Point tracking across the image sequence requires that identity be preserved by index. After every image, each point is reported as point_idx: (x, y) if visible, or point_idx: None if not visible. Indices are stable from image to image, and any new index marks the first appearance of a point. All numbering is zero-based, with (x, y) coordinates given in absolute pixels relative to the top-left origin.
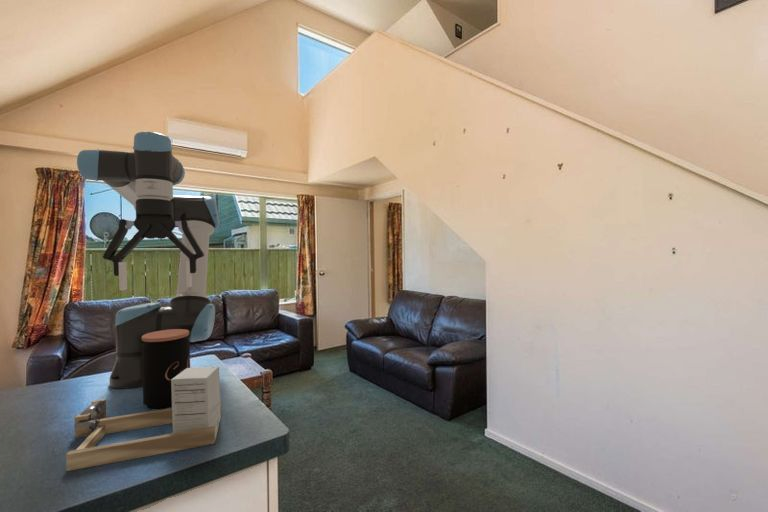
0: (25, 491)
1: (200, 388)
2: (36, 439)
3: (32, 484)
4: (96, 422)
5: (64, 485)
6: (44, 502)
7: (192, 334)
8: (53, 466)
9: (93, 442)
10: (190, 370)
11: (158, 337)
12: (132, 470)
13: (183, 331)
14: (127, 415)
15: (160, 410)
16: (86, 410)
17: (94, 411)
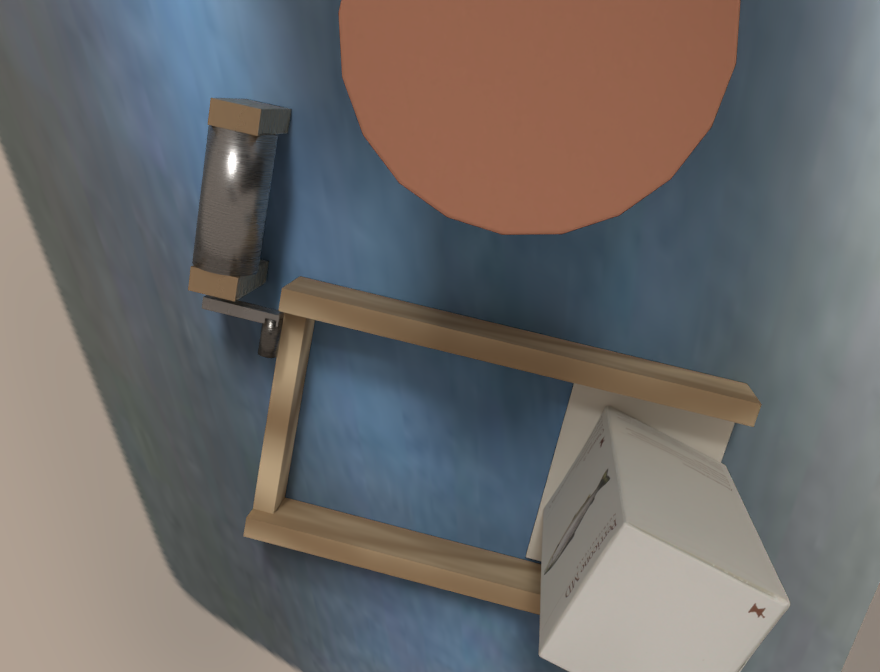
0: (195, 553)
1: None
2: (95, 193)
3: (198, 527)
4: (276, 338)
5: (277, 583)
6: (255, 633)
7: None
8: (218, 454)
9: (296, 402)
10: (638, 587)
11: (471, 199)
12: (431, 616)
13: (686, 46)
14: (378, 318)
15: (503, 350)
16: (214, 242)
17: (246, 244)
